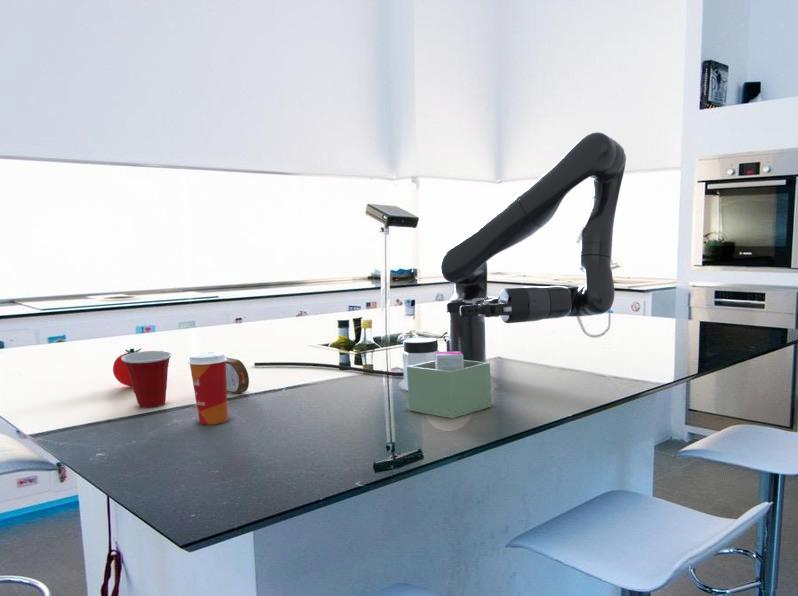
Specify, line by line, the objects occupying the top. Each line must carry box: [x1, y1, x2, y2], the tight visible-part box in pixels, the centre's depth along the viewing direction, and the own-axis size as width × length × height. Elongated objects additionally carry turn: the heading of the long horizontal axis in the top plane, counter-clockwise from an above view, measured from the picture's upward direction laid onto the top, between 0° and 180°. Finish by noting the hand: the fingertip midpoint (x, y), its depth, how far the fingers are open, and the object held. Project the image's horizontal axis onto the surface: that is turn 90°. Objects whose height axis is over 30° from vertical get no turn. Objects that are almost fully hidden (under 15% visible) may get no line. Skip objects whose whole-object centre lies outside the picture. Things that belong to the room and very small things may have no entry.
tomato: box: [112, 347, 143, 387], centre depth 199 cm, size 10×10×10 cm
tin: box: [225, 356, 250, 395], centre depth 187 cm, size 15×3×8 cm, turn 47°
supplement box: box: [435, 351, 464, 371], centre depth 160 cm, size 6×6×12 cm
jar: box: [402, 337, 440, 392], centre depth 180 cm, size 9×8×12 cm
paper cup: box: [187, 351, 229, 425], centre depth 156 cm, size 8×8×14 cm
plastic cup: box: [121, 350, 172, 408], centre depth 174 cm, size 11×11×12 cm
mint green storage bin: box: [407, 360, 492, 419], centre depth 160 cm, size 12×12×10 cm
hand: (453, 309), depth 157 cm, fingers open, 8 cm apart
